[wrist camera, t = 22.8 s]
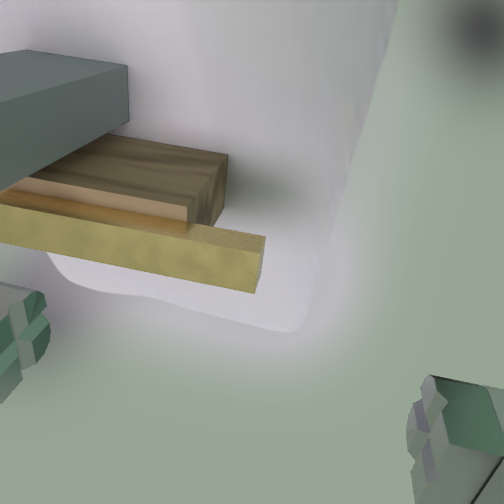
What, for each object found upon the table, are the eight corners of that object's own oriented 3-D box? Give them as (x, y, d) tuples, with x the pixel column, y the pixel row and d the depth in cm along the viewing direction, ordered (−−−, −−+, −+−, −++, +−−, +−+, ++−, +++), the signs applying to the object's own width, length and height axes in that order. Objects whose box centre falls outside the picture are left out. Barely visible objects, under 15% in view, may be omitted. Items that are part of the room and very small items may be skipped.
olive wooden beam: (10, 188, 40) (-13, 201, 37) (265, 236, 37) (259, 253, 35) (17, 226, 42) (-4, 241, 40) (260, 274, 40) (254, 293, 37)
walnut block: (74, 128, 52) (-14, 169, 39) (228, 154, 50) (187, 206, 37) (80, 182, 56) (0, 236, 43) (223, 209, 54) (184, 273, 41)
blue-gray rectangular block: (25, 49, 49) (-243, 90, 27) (127, 65, 47) (-66, 121, 25) (33, 104, 52) (-201, 182, 30) (129, 120, 50) (-42, 214, 28)
